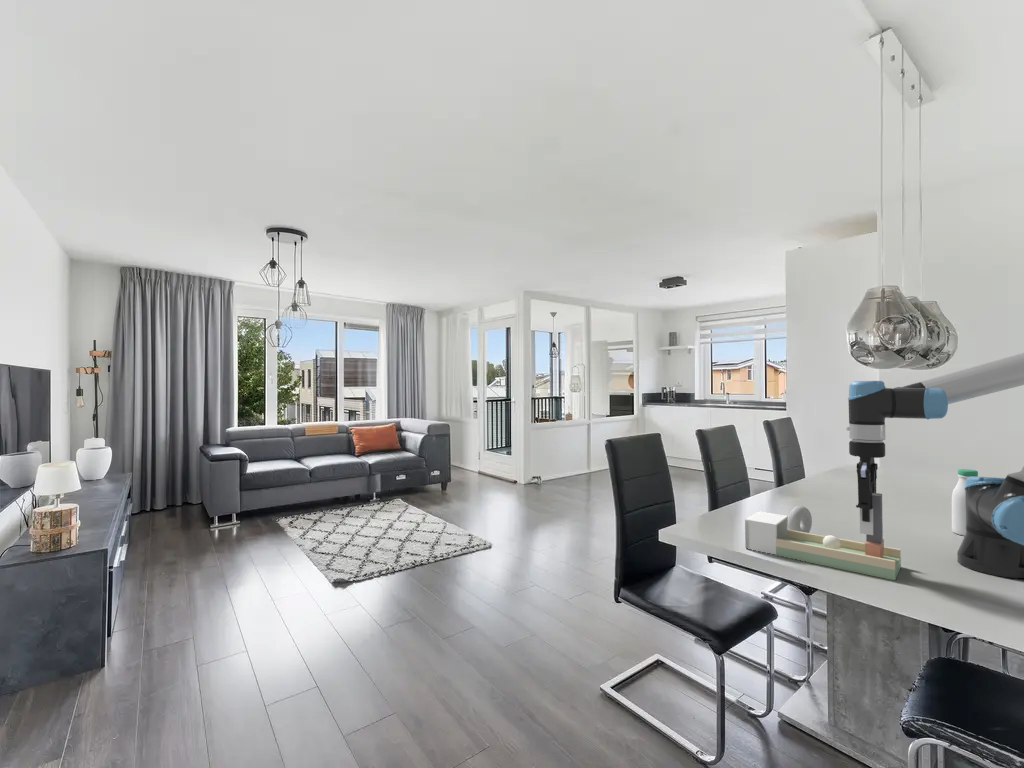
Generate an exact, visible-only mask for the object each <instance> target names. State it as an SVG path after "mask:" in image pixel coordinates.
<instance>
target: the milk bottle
mask: <svg viewBox="0 0 1024 768" xmlns="http://www.w3.org/2000/svg"><path fill="white" fill-rule="evenodd" d="M971 476H977V477H979V472H978V470H975V469H970V468H969V469H968V468H967V469H966V468H958V469H957V477H958V481H957V483H956V485H955V486H954V488H953V490H952V493H951V531H952V533H954V534H956V535H960V536H963V537H964V536H965V534H966V499H965V489H964V488H965V485H966V479H967V478H968V477H971Z"/></svg>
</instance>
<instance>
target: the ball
mask: <svg viewBox="0 0 1024 768" xmlns="http://www.w3.org/2000/svg"><path fill="white" fill-rule="evenodd" d="M825 536H826V537H825V538H824V539H823V545H824V547H826V548H831V549H837V550H838V549H839V548H840V545H841V544H840V541H839V539H840V538H839V539H838V537H836V536H835V535H825Z"/></svg>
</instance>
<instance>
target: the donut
mask: <svg viewBox="0 0 1024 768" xmlns="http://www.w3.org/2000/svg"><path fill="white" fill-rule="evenodd" d="M812 523H813V517H812V513H811V511H810V510H809V509H808V508H807V507H806V506H803V505H796V506H794V507H793V508H792V509H791V510H790V512H789V513H788V530H794V531H799V532H805V533H810V531H811V530H812Z"/></svg>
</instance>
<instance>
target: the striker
mask: <svg viewBox="0 0 1024 768" xmlns="http://www.w3.org/2000/svg"><path fill="white" fill-rule="evenodd" d="M872 506H873V508H872V509H873V531H874V535H868V534H865V535H866V536H865V537H866V539H865V540H866V541H865V542H864V543H865V555H869V556H874V557H879V558H883V556H884V546H885V541H884V540H885V538H883V536H884V535H883V531H884V529H883V493H880V492H879V493H877V492H876V493H872Z"/></svg>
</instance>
